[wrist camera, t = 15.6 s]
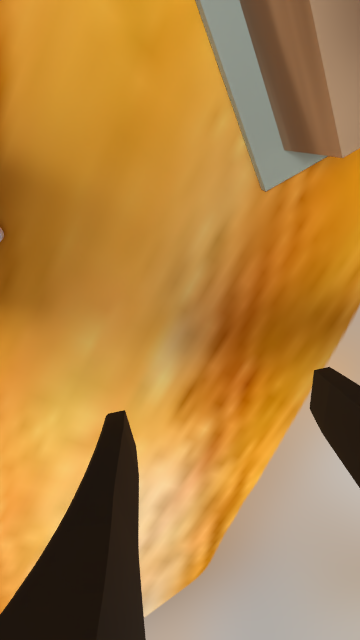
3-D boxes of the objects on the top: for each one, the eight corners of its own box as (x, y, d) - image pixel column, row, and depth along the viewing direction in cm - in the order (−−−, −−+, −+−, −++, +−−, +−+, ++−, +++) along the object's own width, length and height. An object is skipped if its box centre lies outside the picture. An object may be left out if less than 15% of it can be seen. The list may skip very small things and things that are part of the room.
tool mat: (261, 189, 18) (265, 191, 17) (135, -170, 11) (136, -184, 10) (374, 125, 17) (382, 125, 16) (313, -301, 10) (323, -323, 10)
